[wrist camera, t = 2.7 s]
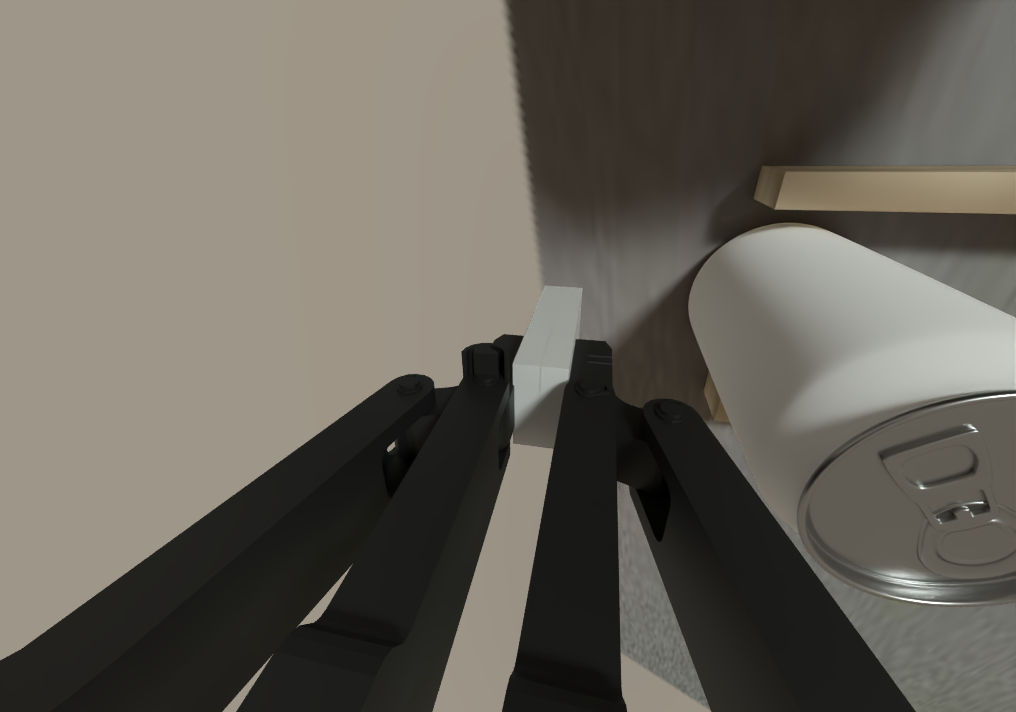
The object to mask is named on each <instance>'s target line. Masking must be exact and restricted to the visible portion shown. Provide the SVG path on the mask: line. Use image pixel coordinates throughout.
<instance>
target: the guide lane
mask: <svg viewBox="0 0 1016 712" xmlns="http://www.w3.org/2000/svg"><path fill="white" fill-rule="evenodd" d="M753 199H754V200H757V201H759V202H761V203H763V204H765V205H767V206H769V207H771V208H773V209H778V210H831V211H884V212H937V213H990V214H1016V166H762V167H761V171H760V174H759V178H758V182H757V186H756V190H755V194H754V198H753ZM703 392H704V394H705V397H706V400H707V403H708V406H709V408H710V411H711V414H712V417H713V420H714V421H717V422H726V423H730V421H729V418H728V416H727V414H726V411H725V409H724V406H723V404H722V401H721V399H720V397H719V394H718V392H717V389H716V387H715V384H714V382H713V379H712V377H711V374H710V372H709V371H708V375H707V379H706V383H705V387H704V390H703Z"/></svg>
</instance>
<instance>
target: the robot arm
mask: <svg viewBox="0 0 1016 712" xmlns="http://www.w3.org/2000/svg"><path fill="white" fill-rule="evenodd" d="M582 289H583V288H575V287H557V286H545V288H544V290H543V292H542V295H541V297H540V300H539V302H538V304H537V307H536V309H535V312H534V314H533V316H532V319H531V321H530V323H529V326H528V328H527V331H526V333H525V335H524V336H517V335H506V334H504V335H502V336H500V337H499V338H497V339H496V340H495V341H494V342H493V343H480V344H474V345H471V346H469V347H466V348H465V349H464V350H463V351H462V365H463V379H462V381H461V382H460V384H459V386H455V387H448V388H436V389H435V388H434V382H433V380H432V379H431V378H429V377H427V376H425V375H419V374H412V375H411V374H408V375H405V376H401V377H398V378H396V379H394V380H392V381H390V382H389V383H388V384H386V385H385V386H384V387H382V388H381V389H380V390H378V391H377V392H375V393H374V394H373V395H371V396H370V397H368V398H367V399H366V400H365V401H363V402H362V403H360V404H359V405H357V406H356V407H355V408H353V409H352V410H351V411H349V412H348V413H347V414H345V415H344V416H342V417H341V418H339V419H338V420H337V421H335V422H334V423H333V424H331V425H330V426H328V427H327V428H326V429H325V430H323V431H322V432H320V433H319V434H317V435H316V436H315V437H313V438H312V439H311V440H309V441H308V442H306V443H305V444H304V445H302V446H301V447H300V448H298V449H297V450H295V451H294V452H293V453H291V454H290V455H288V456H287V457H286V458H284V459H283V460H282V461H280V462H279V463H277V464H276V465H275V466H273V467H272V468H271V469H269V470H268V471H266V472H265V473H264V474H262V475H261V476H259V477H258V478H257V479H255V480H254V481H253V482H251V483H250V484H248V485H247V486H246V487H244V488H243V489H242V490H240V491H239V492H237V493H236V494H235V495H233V496H232V497H230V498H229V499H228V500H226V501H225V502H224V503H222V504H221V505H219V506H218V507H217V508H216V509H214V510H213V511H211V512H210V513H209V514H207V515H206V516H204V517H203V518H202V519H200V520H199V521H197V522H196V523H195V524H193V525H192V526H191V527H189V528H188V529H186V530H185V531H184V532H182V533H181V534H179V535H178V536H177V537H175V538H174V539H173V540H171V541H170V542H168V543H167V544H166V545H165V546H163V547H162V548H160V549H159V550H157V551H156V552H155V553H153V554H152V555H150V556H149V557H148V558H147V559H145V560H144V561H142V562H141V563H140V564H138V565H137V566H135V567H134V568H133V569H131V570H130V571H129V572H127V573H126V574H124V575H123V576H122V577H120V578H119V579H117V580H116V581H115V582H113V583H112V584H110V585H109V586H108V587H106V588H105V589H104V590H102V591H101V592H100V593H98V594H97V595H95V596H94V597H93V598H91V599H90V600H88V601H87V602H86V603H84V604H83V605H82V606H80V607H79V608H77V609H76V610H75V611H73V612H72V613H70V614H69V615H68V616H66V617H65V618H64V619H62V620H61V621H59V622H58V623H57V624H55V625H54V626H53V627H51V628H50V629H48V630H47V631H46V632H45V633H43V634H42V635H40V636H39V637H37V638H36V639H35V640H33V641H32V642H30V643H29V644H28V645H26V646H25V647H24V648H22V649H21V650H19V651H17V652H15V653H13V654H12V655H10V656H8V657H6V658H4V659H2V660H0V712H222V711H223V710H224V709H225V708H226V707H227V706H228V704H229V703H230V702H231V701H232V700H233V699H234V697H236V695H237V694H238V693H239V692H240V691H241V690H242V689H243V687H244V686H245V685H246V684H247V683H248V682H249V680H251V678H252V677H253V676H254V675H255V674H256V673H257V671H258V670H259V669H260V668H261V667H262V666H263V665H264V664H265V663H266V661H267V660H268V659H269V658H270V657H271V656H272V657H271V659H270V660H269V662H268V663H267V665H266V666H265V668H264V669H263V671H262V673H261V674H260V676H259V677H258V679H257V680H256V682H255V684H254V685H253V687H252V688H251V690H250V691H249V693H248V695H247V696H246V697H245V699H244V701H243V702H242V704H241V705H240V707H239V708H238V710H237V711H236V712H432V711H433V708H434V704H435V701H436V698H437V694H438V691H439V688H440V685H441V681H442V678H443V675H444V671H445V668H446V665H447V661H448V658H449V655H450V651H451V648H452V645H453V642H454V638H455V635H456V631H457V628H458V625H459V622H460V618H461V615H462V612H463V609H464V605H465V602H466V599H467V595H468V592H469V589H470V585H471V582H472V579H473V576H474V572H475V569H476V566H477V562H478V559H479V555H480V552H481V549H482V546H483V543H484V539H485V536H486V533H487V529H488V526H489V523H490V519H491V516H492V513H493V509H494V506H495V503H496V499H497V496H498V493H499V490H500V486H501V483H502V480H503V476H504V473H505V470H506V467H507V463H508V460H509V456H510V439H511V436H512V433H513V443H515V444H522V445H530V446H537V447H545V448H553V449H554V450H553V456H552V462H551V468H550V473H549V478H548V484H547V490H546V495H545V501H544V507H543V512H542V518H541V524H540V530H539V535H538V540H537V546H536V552H535V557H534V563H533V568H532V574H531V580H530V586H529V591H528V597H527V603H526V608H525V614H524V619H523V625H522V630H521V636H520V642H519V648H518V653H517V658H516V663H515V667H514V671H513V672H512V674H511V676H510V678H509V683H508V686H507V690H506V695H505V700H504V705H503V709H502V712H627V708H626V704H625V701H624V699H623V697H622V689H621V658H620V657H621V656H620V655H621V654H620V607H619V560H618V513H617V481H619V482H621V483H624V484H626V485H629V490H630V495H631V498H632V500H633V503H634V506H635V508H636V511H637V514H638V516H639V519H640V522H641V524H642V527H643V530H644V532H645V535H646V538H647V540H648V543H649V546H650V549H651V551H652V554H653V557H654V559H655V562H656V565H657V567H658V570H659V573H660V575H661V578H662V581H663V583H664V586H665V589H666V591H667V594H668V597H669V599H670V602H671V605H672V607H673V610H674V613H675V615H676V618H677V621H678V623H679V626H680V629H681V631H682V634H683V637H684V639H685V642H686V645H687V647H688V650H689V653H690V655H691V658H692V661H693V663H694V666H695V669H696V671H697V674H698V677H699V680H700V682H701V685H702V688H703V690H704V693H705V696H706V698H707V701H708V704H709V706H710V709H711V712H916V711H915V710H914V709H913V707H912V706H911V704H910V703H909V702H908V700H907V699H906V698H905V696H904V695H903V694H902V692H901V691H900V689H899V688H898V687H897V685H896V684H895V683H894V681H893V680H892V678H891V677H890V676H889V674H888V673H887V672H886V670H885V669H884V667H883V666H882V665H881V663H880V662H879V661H878V659H877V658H876V657H875V655H874V654H873V652H872V651H871V650H870V648H869V647H868V646H867V644H866V643H865V641H864V640H863V639H862V637H861V636H860V635H859V633H858V632H857V630H856V629H855V628H854V626H853V625H852V624H851V622H850V621H849V619H848V618H847V617H846V615H845V614H844V613H843V611H842V610H841V609H840V607H839V606H838V604H837V603H836V602H835V600H834V599H833V598H832V596H831V595H830V593H829V592H828V591H827V589H826V588H825V587H824V585H823V584H822V582H821V581H820V580H819V578H818V577H817V576H816V574H815V573H814V572H813V570H812V569H811V567H810V566H809V565H808V563H807V562H806V561H805V559H804V558H803V556H802V555H801V554H800V552H799V551H798V550H797V548H796V547H795V545H794V544H793V543H792V541H791V540H790V539H789V537H788V536H787V534H786V533H785V532H784V530H783V529H782V528H781V526H780V525H779V524H778V522H777V521H776V519H775V518H774V517H773V515H772V514H771V513H770V511H769V510H768V508H767V507H766V506H765V504H764V503H763V502H762V500H761V499H760V497H759V496H758V495H757V493H756V492H755V491H754V489H753V488H752V486H751V485H750V484H749V482H748V481H747V480H746V478H745V477H744V476H743V474H742V473H741V471H740V470H739V469H738V467H737V466H736V465H735V463H734V462H733V460H732V459H731V458H730V456H729V455H728V454H727V452H726V451H725V449H724V448H723V447H722V445H721V444H720V443H719V441H718V440H717V439H716V437H715V436H714V434H713V433H712V432H711V430H710V429H709V428H708V426H707V425H706V423H705V422H704V421H703V419H702V418H701V417H700V415H699V414H698V413H697V412H696V411H695V410H694V409H693V408H692V407H690V406H688V405H686V404H685V403H683V402H680V401H676V400H672V399H655V400H651V401H649V402H647V403H646V404H645V405H644V407H643V409H641V408H638V407H635V406H632V405H630V404H627V403H625V402H623V401H622V400H620V399H619V398H618V397H617V396H616V395H615V392H614V389H613V387H612V349H611V347H610V346H609V345H608V344H607V343H606V342H605V341H594V340H582V339H579V328H580V315H581V302H582ZM393 442H395V447H394V448H393V449H392V450H391V451H389V452H388V451H387V448H388V447H389V445H391V444H392V443H393ZM352 564H353V565H352ZM351 565H352V566H351ZM350 566H351V568H350V570H349V572H348V573H347V575H346V576H345V578H344V580H343V582H342V583H341V585H340V587H339V588H338V590H337V592H336V593H335V595H334V597H333V598H332V600H331V602H330V604H329V605H328V607H327V609H326V610H325V611H324V613H323V614H322V616H321V617H320V618H319V619H318V620H317V621H315V622H314V623H310V624H305V625H300V626H298V625H299V624H300V623H301V622H302V621H303V619H304V618H305V617H306V616H307V615H308V614H309V612H310V611H311V610H312V609H313V608H314V607H315V606H316V605H317V604H318V603H319V601H320V600H321V599H322V598H323V597H324V596H325V595H326V593H327V592H328V591H329V590H330V589H331V588H332V587H333V585H334V584H335V583H336V582H337V581H338V580H339V579H340V578H341V576H342V575H343V574H344V573H345V572H346V571H347V570H348V569H349V567H350ZM297 626H298V627H297ZM296 627H297V628H296ZM273 653H274V654H273Z"/></svg>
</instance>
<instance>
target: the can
mask: <svg viewBox="0 0 1016 712" xmlns="http://www.w3.org/2000/svg"><path fill="white" fill-rule="evenodd" d="M688 311H689V318H690V323H691V326H692V329H693V332H694V334H695V337H696V340H697V342H698V345H699V347H700V350H701V352H702V355H703V357H704V360H705V362H706V365H707V367H708V370H709V372H710V374H711V377H712V379H713V382H714V384H715V387H716V389H717V392H718V394H719V397H720V399H721V401H722V404H723V406H724V409H725V411H726V414H727V416H728V418H729V421H730V423H731V426H732V428H733V431H734V433H735V435H736V438H737V440H738V443H739V445H740V447H741V450H742V452H743V454H744V457H745V459H746V462H747V464H748V466H749V469H750V471H751V473H752V475H753V477H754V480H755V482H756V484H757V486H758V488H759V490H760V492H761V494H762V495H763V497H764V499H765V501H766V502H767V504H768V505H769V506H770V508H771V509H772V510H773V511H774V513H775V514H776V515H777V516H778V517H779V518H780V519H781V520H782V521H783V522H784V523H785V524H787V525H788V526H789V527H790V528H791V529H792V530H794V531H795V532H796V533H797V534H799V535H800V537H801V540H802V542H803V544H804V546H805V548H806V550H807V551H808V553H809V554H810V555H811V557H812V558H813V559H814V560H815V561H816V562H817V563H818V564H819V565H820V566H821V567H822V568H823V569H824V570H825V571H827V572H828V573H829V574H831V575H832V576H834V577H835V578H837V579H838V580H840V581H842V582H844V583H845V584H847V585H849V586H852V587H854V588H856V589H858V590H861V591H863V592H866V593H869V594H872V595H875V596H878V597H882V598H886V599H890V600H894V601H899V602H904V603H910V604H917V605H926V606H939V607H979V606H992V605H1002V604H1010V603H1016V318H1015V317H1013V316H1011V315H1009V314H1006V313H1004V312H1002V311H1000V310H998V309H996V308H994V307H992V306H990V305H987V304H985V303H983V302H981V301H979V300H977V299H975V298H973V297H971V296H968V295H966V294H964V293H962V292H960V291H958V290H956V289H954V288H951V287H949V286H947V285H945V284H943V283H941V282H939V281H936V280H934V279H932V278H930V277H928V276H926V275H924V274H921V273H919V272H917V271H915V270H913V269H911V268H909V267H906V266H904V265H902V264H900V263H898V262H896V261H894V260H891V259H889V258H887V257H885V256H883V255H881V254H878V253H876V252H874V251H872V250H870V249H868V248H865V247H863V246H861V245H859V244H857V243H855V242H852V241H850V240H848V239H846V238H844V237H841V236H839V235H837V234H835V233H832V232H830V231H827V230H825V229H822V228H820V227H816V226H813V225H808V224H803V223H777V224H771V225H766V226H762V227H758V228H755V229H752V230H750V231H747V232H745V233H743V234H741V235H739V236H737V237H735V238H734V239H732V240H730V241H729V242H727V243H726V244H724V245H723V246H722V247H721V248H719V249H718V250H717V251H716V252H715V253H714V254H713V255H712V256H711V257H710V258H709V259H708V260H707V261H706V263H705V264H704V265H703V266H702V268H701V269H700V271H699V273H698V274H697V276H696V278H695V280H694V282H693V285H692V288H691V291H690V295H689V303H688Z"/></svg>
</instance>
